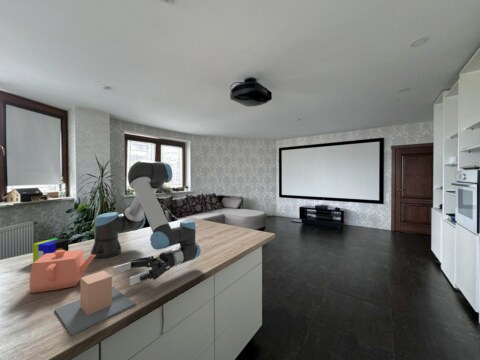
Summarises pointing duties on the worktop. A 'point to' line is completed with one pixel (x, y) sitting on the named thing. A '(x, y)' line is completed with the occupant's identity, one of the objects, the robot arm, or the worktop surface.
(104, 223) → the robot arm
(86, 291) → the block
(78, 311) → the mat
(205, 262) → the worktop surface
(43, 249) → the puzzle toy
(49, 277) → the teapot
